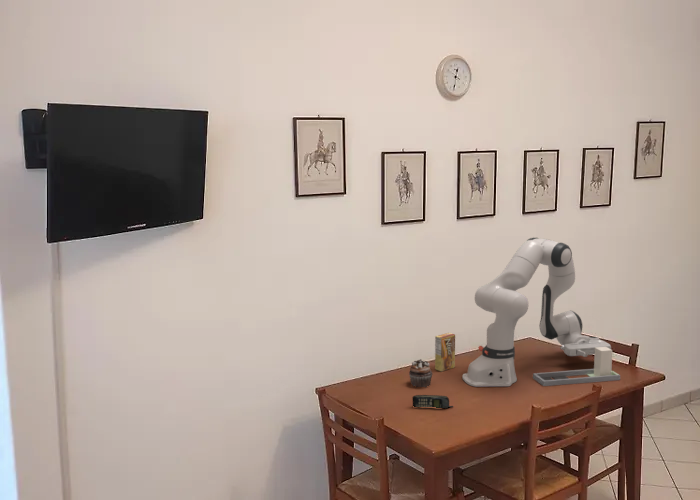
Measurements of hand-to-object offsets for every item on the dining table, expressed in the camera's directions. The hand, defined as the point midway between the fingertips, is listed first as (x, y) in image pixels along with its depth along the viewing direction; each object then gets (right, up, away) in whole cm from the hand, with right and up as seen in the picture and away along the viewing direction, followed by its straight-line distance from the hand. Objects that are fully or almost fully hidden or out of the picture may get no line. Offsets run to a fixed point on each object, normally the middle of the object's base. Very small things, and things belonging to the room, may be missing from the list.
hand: (596, 354), depth 285 cm
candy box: (-63, -8, +10) cm, 65 cm away
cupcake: (-76, -11, -10) cm, 78 cm away
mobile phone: (-74, -15, -34) cm, 83 cm away
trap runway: (-11, -9, -6) cm, 16 cm away
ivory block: (+1, -9, -4) cm, 10 cm away
